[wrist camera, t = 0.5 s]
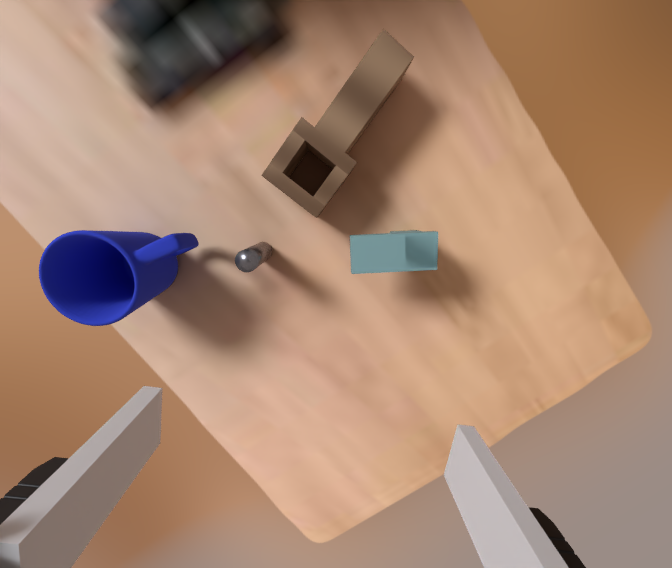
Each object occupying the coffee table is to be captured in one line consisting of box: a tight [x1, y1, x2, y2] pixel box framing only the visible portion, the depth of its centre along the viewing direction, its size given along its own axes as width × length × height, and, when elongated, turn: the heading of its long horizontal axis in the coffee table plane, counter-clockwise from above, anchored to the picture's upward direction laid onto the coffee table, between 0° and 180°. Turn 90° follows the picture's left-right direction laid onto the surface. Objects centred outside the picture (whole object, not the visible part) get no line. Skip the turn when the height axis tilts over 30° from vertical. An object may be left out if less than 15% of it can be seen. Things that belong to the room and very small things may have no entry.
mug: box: [39, 230, 198, 326], centre depth 32 cm, size 8×12×10 cm
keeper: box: [350, 230, 438, 274], centre depth 33 cm, size 4×8×7 cm, turn 93°
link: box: [262, 29, 414, 218], centre depth 32 cm, size 16×6×5 cm, turn 143°
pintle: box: [235, 242, 272, 272], centre depth 33 cm, size 2×2×8 cm
